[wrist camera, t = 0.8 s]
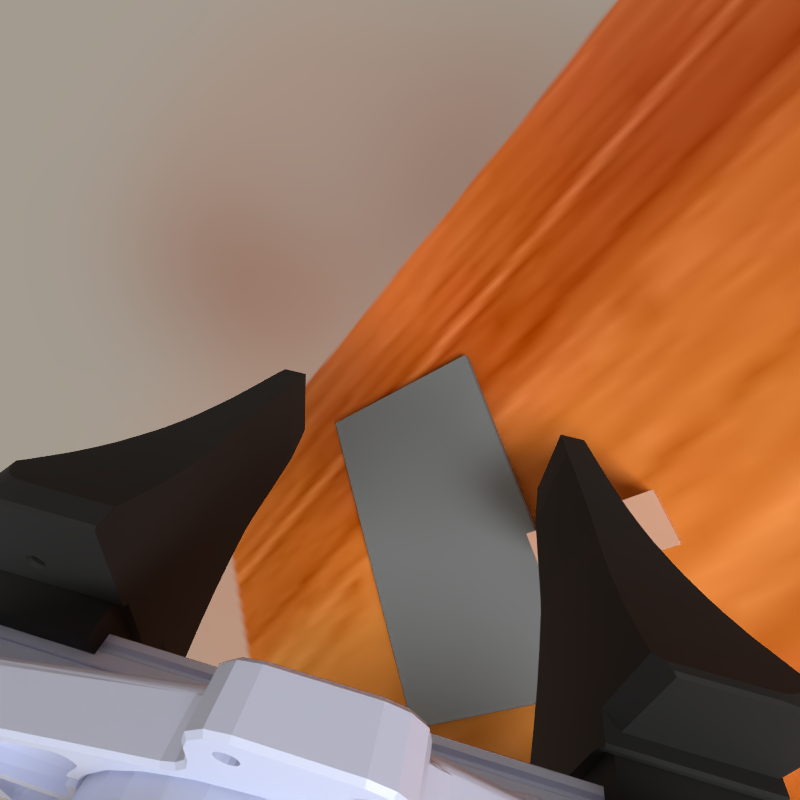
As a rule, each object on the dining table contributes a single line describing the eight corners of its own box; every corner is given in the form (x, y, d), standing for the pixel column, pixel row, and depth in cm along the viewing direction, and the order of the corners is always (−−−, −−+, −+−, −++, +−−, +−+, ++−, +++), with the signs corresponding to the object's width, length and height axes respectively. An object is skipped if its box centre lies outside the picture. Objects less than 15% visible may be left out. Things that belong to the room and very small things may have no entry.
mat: (599, 687, 22) (597, 691, 22) (417, 725, 26) (412, 728, 25) (468, 357, 29) (465, 354, 28) (340, 424, 33) (335, 423, 32)
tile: (680, 538, 22) (680, 544, 17) (574, 571, 24) (545, 584, 18) (658, 496, 22) (652, 489, 17) (558, 530, 24) (526, 533, 19)
